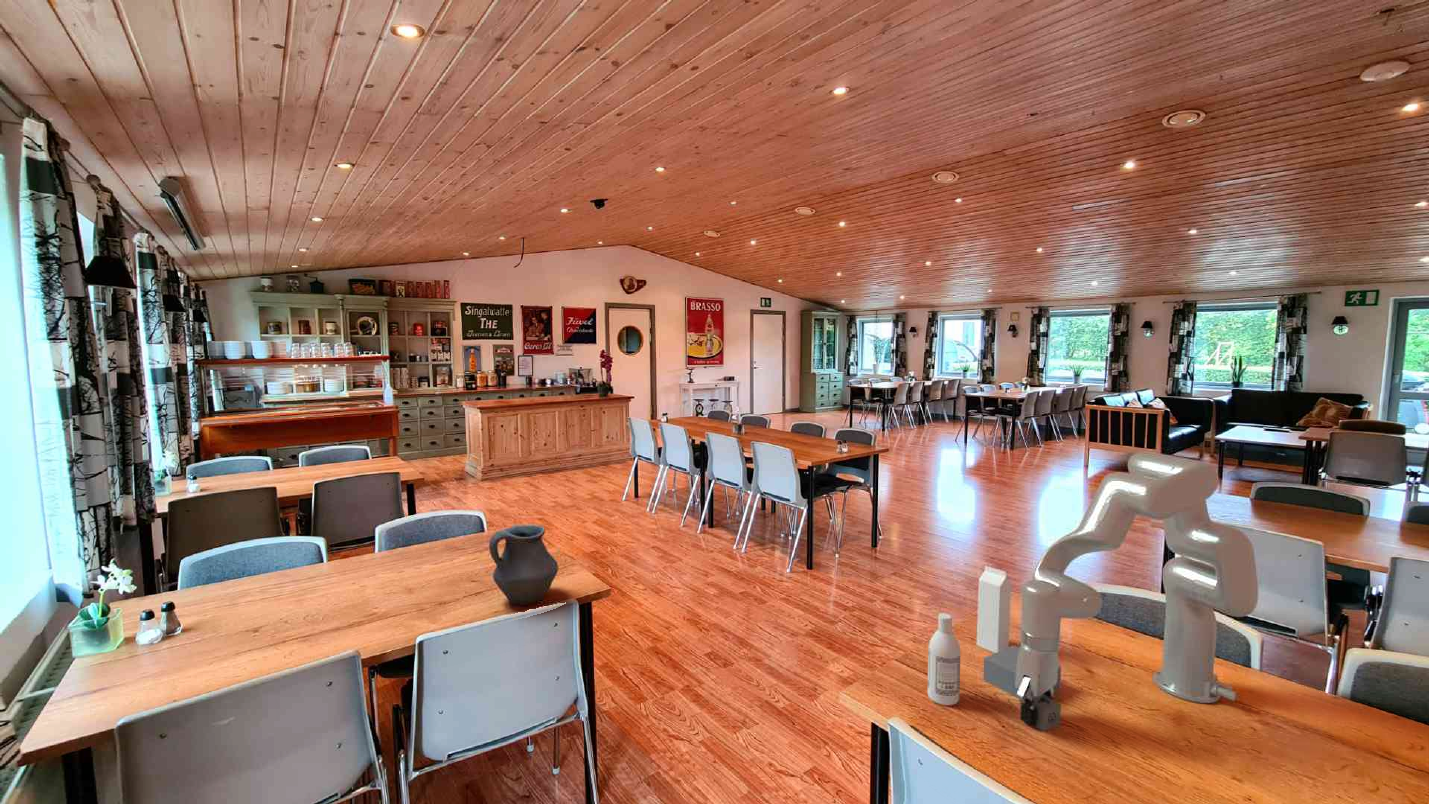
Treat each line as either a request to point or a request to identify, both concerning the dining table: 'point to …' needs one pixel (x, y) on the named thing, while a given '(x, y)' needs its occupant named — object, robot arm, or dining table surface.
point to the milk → (993, 610)
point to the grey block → (1006, 670)
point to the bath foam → (944, 664)
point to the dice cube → (1047, 712)
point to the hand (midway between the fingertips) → (1036, 716)
